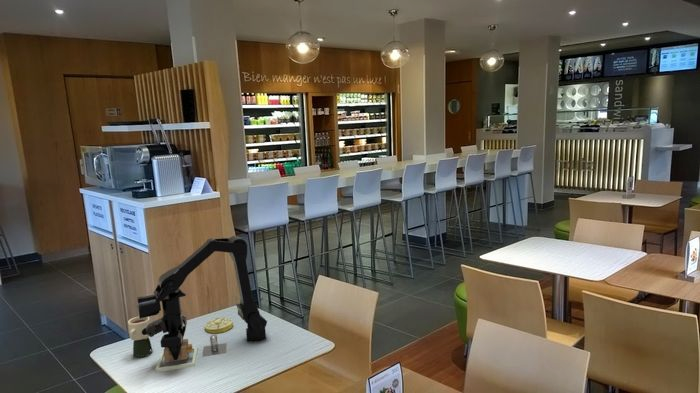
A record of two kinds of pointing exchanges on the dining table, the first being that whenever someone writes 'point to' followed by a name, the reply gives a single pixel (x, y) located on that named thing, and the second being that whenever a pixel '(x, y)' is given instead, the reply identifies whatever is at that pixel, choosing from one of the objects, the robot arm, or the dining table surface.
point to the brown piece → (182, 354)
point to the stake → (214, 347)
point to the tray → (159, 369)
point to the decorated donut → (218, 325)
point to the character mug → (139, 336)
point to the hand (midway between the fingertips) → (177, 354)
